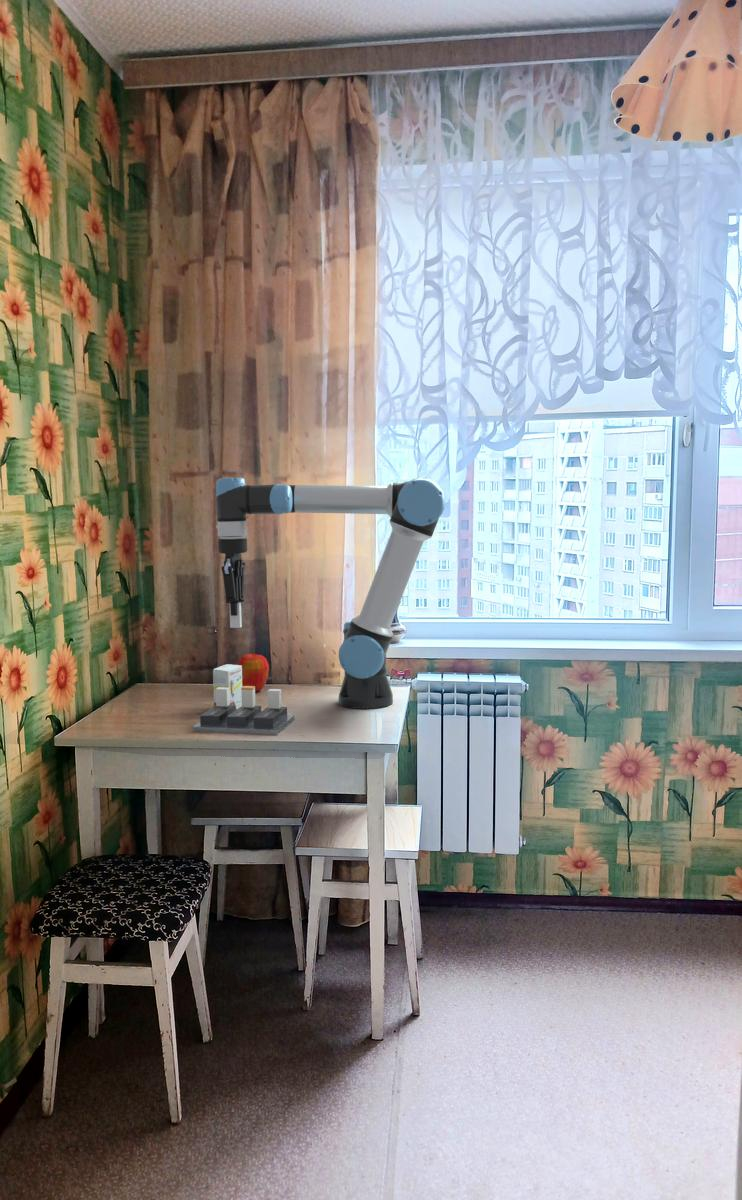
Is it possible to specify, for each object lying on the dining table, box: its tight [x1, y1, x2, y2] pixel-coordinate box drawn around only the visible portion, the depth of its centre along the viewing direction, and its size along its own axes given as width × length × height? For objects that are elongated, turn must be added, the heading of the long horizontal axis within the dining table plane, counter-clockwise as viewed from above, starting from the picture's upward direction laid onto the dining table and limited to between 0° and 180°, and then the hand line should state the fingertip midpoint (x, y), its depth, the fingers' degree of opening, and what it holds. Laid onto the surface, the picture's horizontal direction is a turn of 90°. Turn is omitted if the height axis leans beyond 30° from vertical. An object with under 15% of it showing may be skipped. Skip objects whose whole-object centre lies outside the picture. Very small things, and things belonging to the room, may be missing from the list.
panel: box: [191, 705, 296, 736], centre depth 232 cm, size 22×15×4 cm
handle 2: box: [267, 688, 283, 708], centre depth 234 cm, size 3×2×4 cm, turn 78°
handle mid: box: [241, 686, 257, 707], centre depth 235 cm, size 3×2×5 cm, turn 78°
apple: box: [237, 651, 270, 693], centre depth 270 cm, size 9×9×12 cm
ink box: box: [212, 663, 243, 710], centre depth 248 cm, size 9×5×12 cm, turn 161°
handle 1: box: [216, 687, 230, 706], centre depth 237 cm, size 3×2×4 cm, turn 78°
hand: (236, 627), depth 240 cm, fingers closed
